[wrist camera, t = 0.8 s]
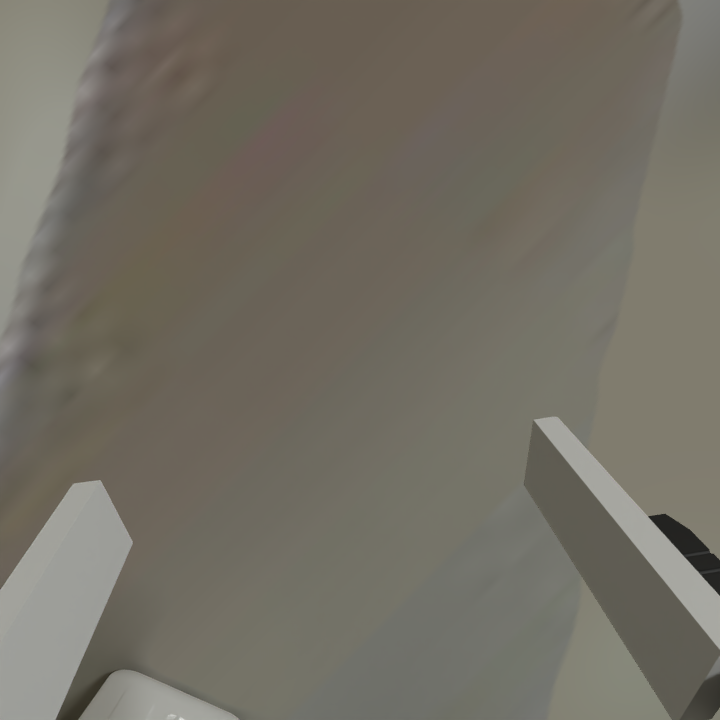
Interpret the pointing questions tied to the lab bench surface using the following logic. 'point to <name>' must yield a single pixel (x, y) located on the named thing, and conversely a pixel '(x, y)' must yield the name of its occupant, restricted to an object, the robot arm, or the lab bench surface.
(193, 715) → the cable organizer
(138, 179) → the lab bench surface
